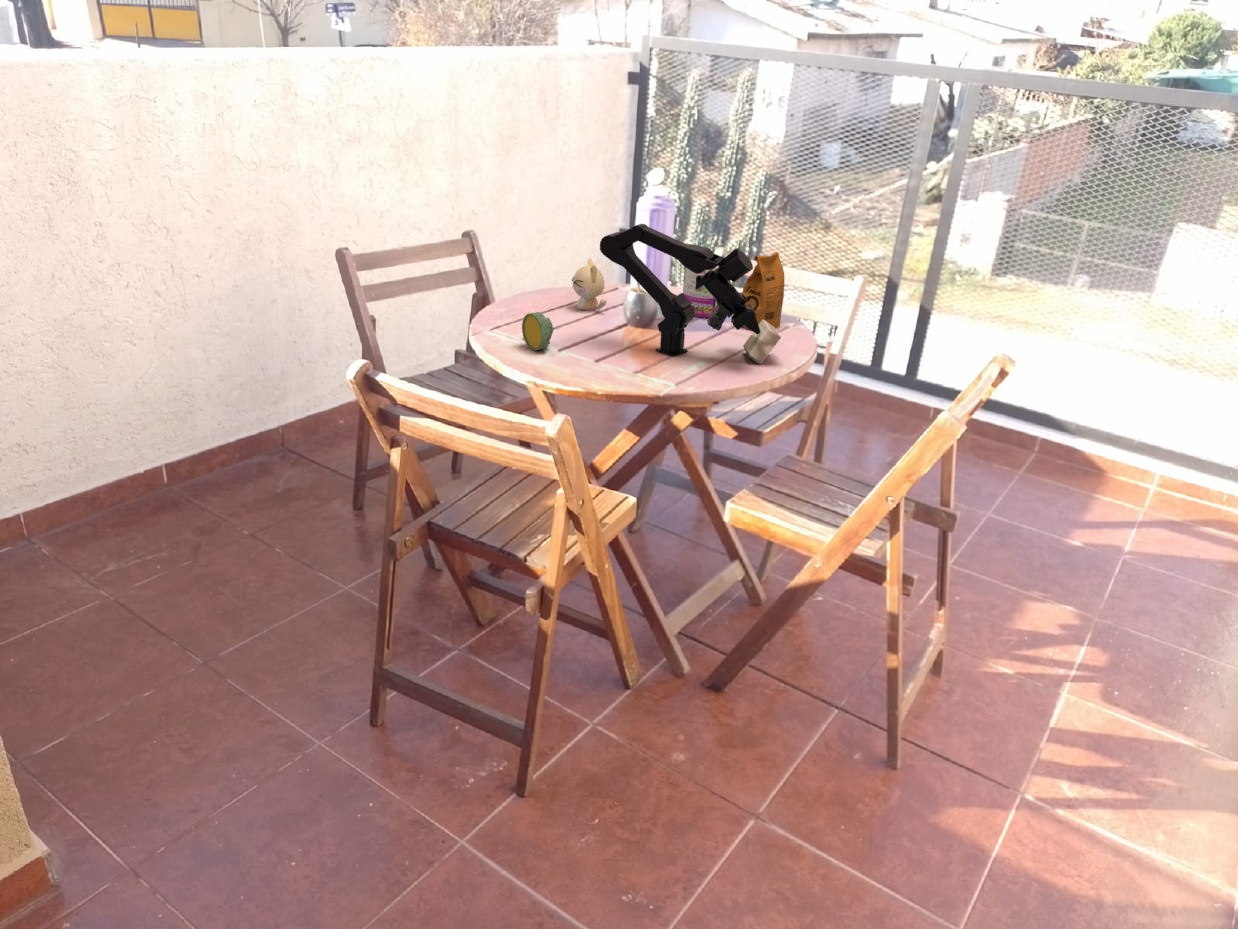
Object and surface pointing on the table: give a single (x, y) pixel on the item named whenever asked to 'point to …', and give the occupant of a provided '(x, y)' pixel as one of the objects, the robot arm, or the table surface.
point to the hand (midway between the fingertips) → (758, 333)
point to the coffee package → (766, 289)
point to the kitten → (589, 287)
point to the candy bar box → (698, 294)
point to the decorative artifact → (537, 330)
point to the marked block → (761, 342)
